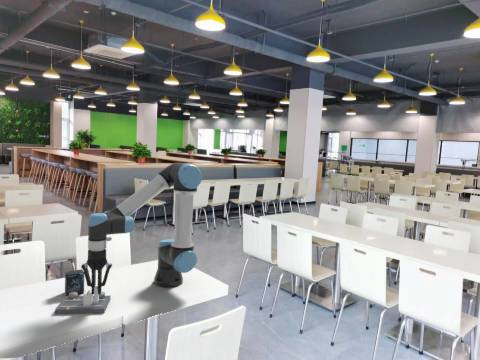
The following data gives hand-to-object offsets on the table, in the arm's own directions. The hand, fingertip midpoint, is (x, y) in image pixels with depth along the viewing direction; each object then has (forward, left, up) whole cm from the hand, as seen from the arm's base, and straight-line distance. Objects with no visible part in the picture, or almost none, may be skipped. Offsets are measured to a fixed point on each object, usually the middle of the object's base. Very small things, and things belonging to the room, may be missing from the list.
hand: (96, 300), depth 165 cm
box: (+14, -18, -4) cm, 23 cm away
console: (+6, -2, -3) cm, 7 cm away
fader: (+3, 0, -1) cm, 4 cm away
